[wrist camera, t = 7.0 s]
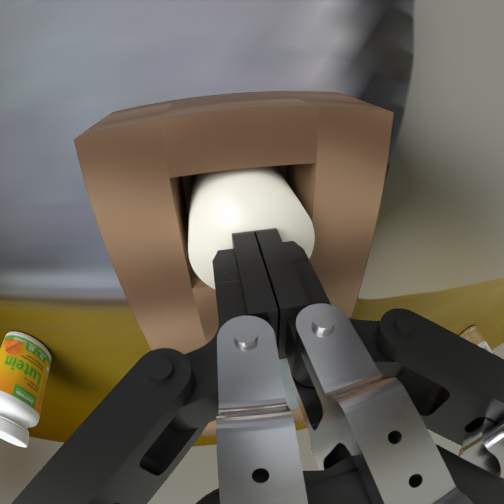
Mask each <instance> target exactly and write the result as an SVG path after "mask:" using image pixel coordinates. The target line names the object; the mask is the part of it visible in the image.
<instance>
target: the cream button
mask: <svg viewBox="0 0 504 504" xmlns="http://www.w3.org/2000/svg"><path fill="white" fill-rule="evenodd" d="M272 228H276V229H277V230H278V232H279V235H280V237H281V239H282V242H288V241H294V242H295V243H297V244H298V245H299V246H301V247H302V248H303V249H304V250H305V252H306V254H307V256H308V258H310V256H311V254H312V251H313V248H314V242H315V233H314V227H313V224H312V221H311V219H310V217H309V215H308V214H307V212H306V210H305V209H304V207H303V206H302V204H301V203H300V201H299V200H298V198H297V197H296V195H295V194H294V192H293V191H292V189H291V188H290V186H289V185H288V183H287V182H286V180H285V179H284V177H283V176H282V174H281V173H280V171H279V170H278V168H277V167H276V166H267V167H256V168H245V169H235V170H226V171H217V172H209V173H201V174H194V175H193V176H192V179H191V183H190V202H189V232H188V254H189V260H190V263H191V266H192V268H193V270H194V272H195V273H196V274H197V276H198V277H199V278H200V279H201V280H202V281H203V282H204V283H205V284H207V285H208V286H210V287H211V288H213V289H215V282H214V272H213V262H212V261H213V259H214V257H215V255H216V253H217V251H218V250H226V249H233V245H232V233H240V232H248V231H256V230H264V229H272Z"/></svg>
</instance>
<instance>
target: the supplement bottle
mask: <svg viewBox="0 0 504 504" xmlns="http://www.w3.org/2000/svg"><path fill="white" fill-rule="evenodd" d="M50 366H51V355H50V353H49V351H48V350H47V348H46V347H45V346H44V345H43V344H42V343H41V342H39V341H38V340H37V339H35V338H33V337H31V336H29V335H27V334H25V333H22V332H17V331H12V332H9V333H7V335H6V336H5V338H4V341H3V343H2V346H1V348H0V438H1V439H3V440H5V441H7V442H9V443H12V444H14V445H17V446H20V447H27V446H28V439H29V432H28V431H27V428H28V427H34V426H36V425H37V423H38V421H39V417H40V412H41V407H42V401H43V396H44V391H45V387H46V382H47V378H48V374H49V370H50Z"/></svg>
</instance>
